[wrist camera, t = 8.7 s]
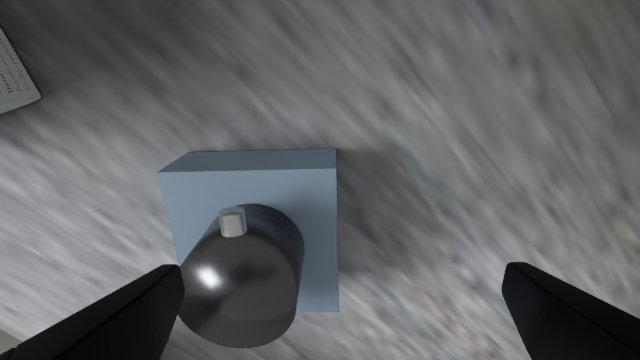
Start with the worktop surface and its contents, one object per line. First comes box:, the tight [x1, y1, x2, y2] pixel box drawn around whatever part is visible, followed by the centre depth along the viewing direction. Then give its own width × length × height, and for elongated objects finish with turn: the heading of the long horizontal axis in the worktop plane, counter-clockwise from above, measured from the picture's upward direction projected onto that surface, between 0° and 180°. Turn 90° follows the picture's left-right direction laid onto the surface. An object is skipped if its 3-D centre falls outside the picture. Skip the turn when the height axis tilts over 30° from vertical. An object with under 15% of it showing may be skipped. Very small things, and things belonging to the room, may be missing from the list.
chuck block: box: [157, 148, 339, 312], centre depth 21 cm, size 10×10×4 cm
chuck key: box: [178, 204, 305, 348], centre depth 19 cm, size 8×6×8 cm
